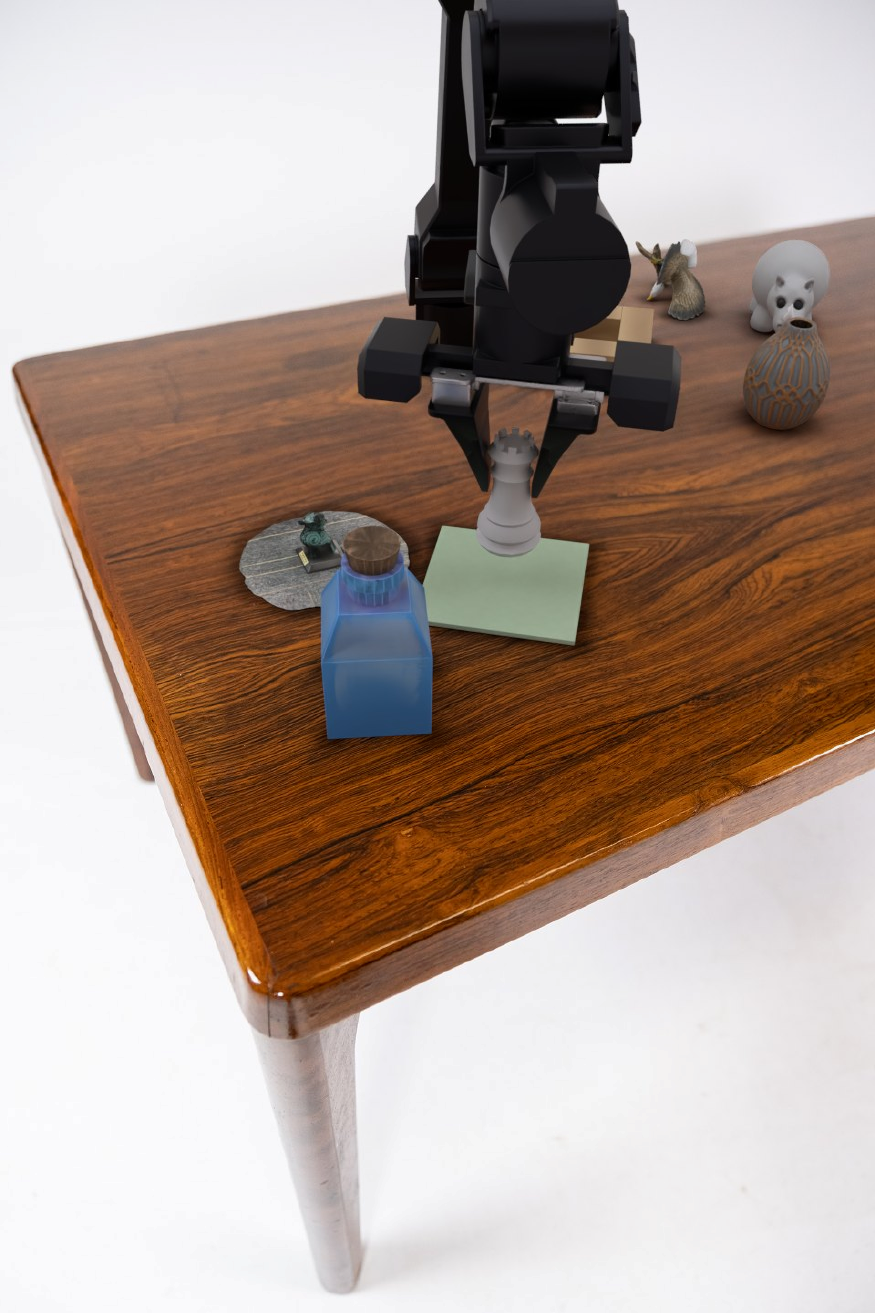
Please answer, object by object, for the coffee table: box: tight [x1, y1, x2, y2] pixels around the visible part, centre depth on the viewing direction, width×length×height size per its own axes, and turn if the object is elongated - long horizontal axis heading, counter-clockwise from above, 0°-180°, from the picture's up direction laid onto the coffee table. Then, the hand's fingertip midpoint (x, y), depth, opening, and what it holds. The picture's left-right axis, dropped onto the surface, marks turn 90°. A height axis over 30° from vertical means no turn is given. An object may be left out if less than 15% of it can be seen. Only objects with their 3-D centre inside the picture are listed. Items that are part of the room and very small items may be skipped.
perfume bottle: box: [320, 526, 434, 740], centre depth 59 cm, size 6×6×12 cm
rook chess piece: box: [475, 426, 542, 558], centre depth 66 cm, size 4×4×8 cm
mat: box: [421, 525, 590, 647], centre depth 71 cm, size 11×11×1 cm
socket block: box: [570, 305, 655, 362], centre depth 95 cm, size 11×11×4 cm
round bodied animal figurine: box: [749, 239, 831, 333], centre depth 98 cm, size 7×12×8 cm, turn 163°
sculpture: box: [238, 510, 411, 611], centre depth 73 cm, size 12×9×8 cm
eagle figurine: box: [635, 238, 706, 321], centre depth 105 cm, size 8×7×9 cm
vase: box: [742, 317, 831, 431], centre depth 86 cm, size 7×7×9 cm
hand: (510, 491), depth 66 cm, fingers closed on rook chess piece, 3 cm apart
